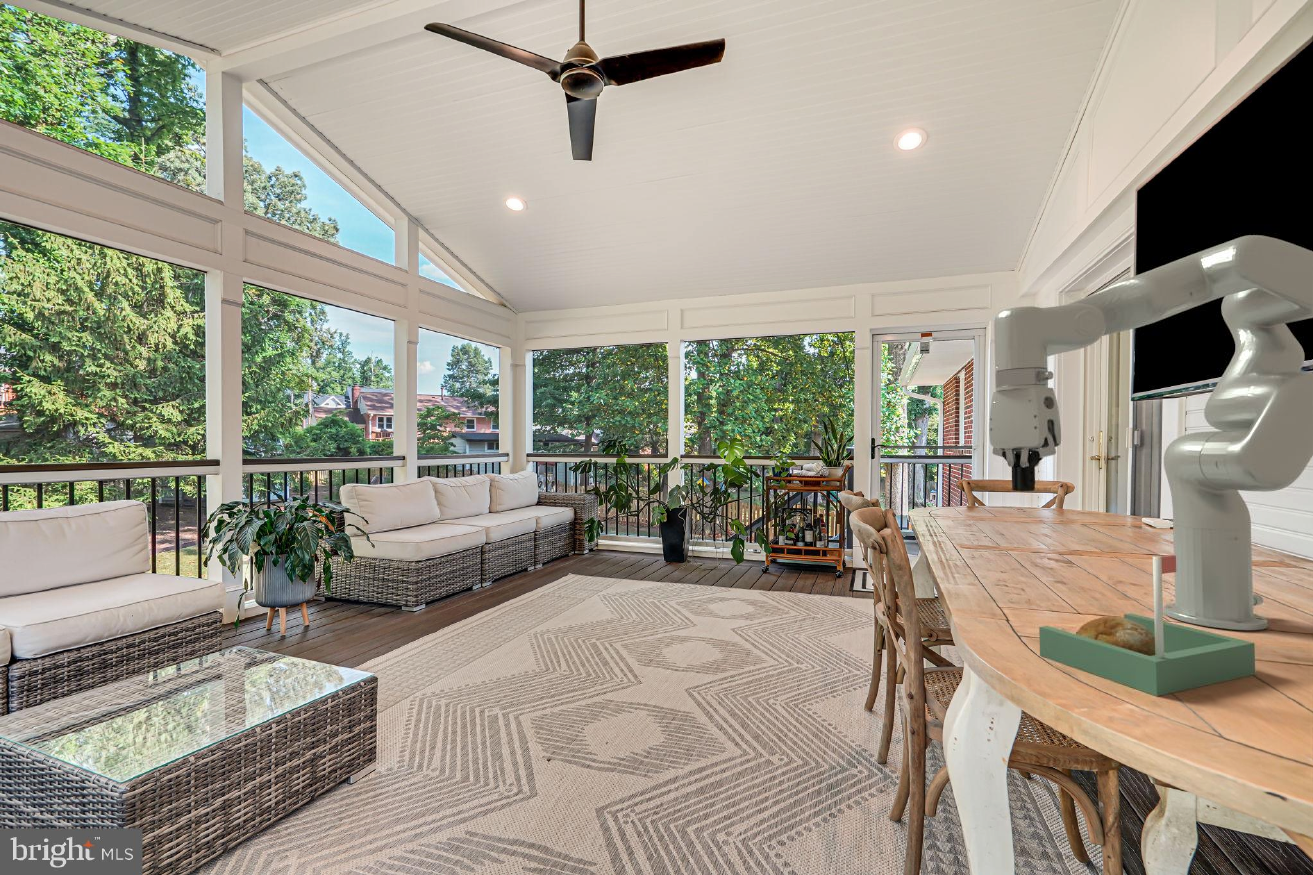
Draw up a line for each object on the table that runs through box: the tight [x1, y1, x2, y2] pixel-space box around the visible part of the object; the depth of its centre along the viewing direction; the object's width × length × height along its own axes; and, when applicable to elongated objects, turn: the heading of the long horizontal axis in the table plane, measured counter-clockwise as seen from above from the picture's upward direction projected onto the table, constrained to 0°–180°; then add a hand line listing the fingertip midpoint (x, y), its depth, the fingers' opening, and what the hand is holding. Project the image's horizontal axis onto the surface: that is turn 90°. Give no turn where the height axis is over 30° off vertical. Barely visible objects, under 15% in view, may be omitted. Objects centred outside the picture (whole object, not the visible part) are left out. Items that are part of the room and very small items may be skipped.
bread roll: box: [1075, 615, 1155, 656], centre depth 79 cm, size 10×10×8 cm
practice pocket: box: [1038, 554, 1256, 697], centre depth 79 cm, size 19×14×16 cm
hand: (1023, 490), depth 98 cm, fingers closed
